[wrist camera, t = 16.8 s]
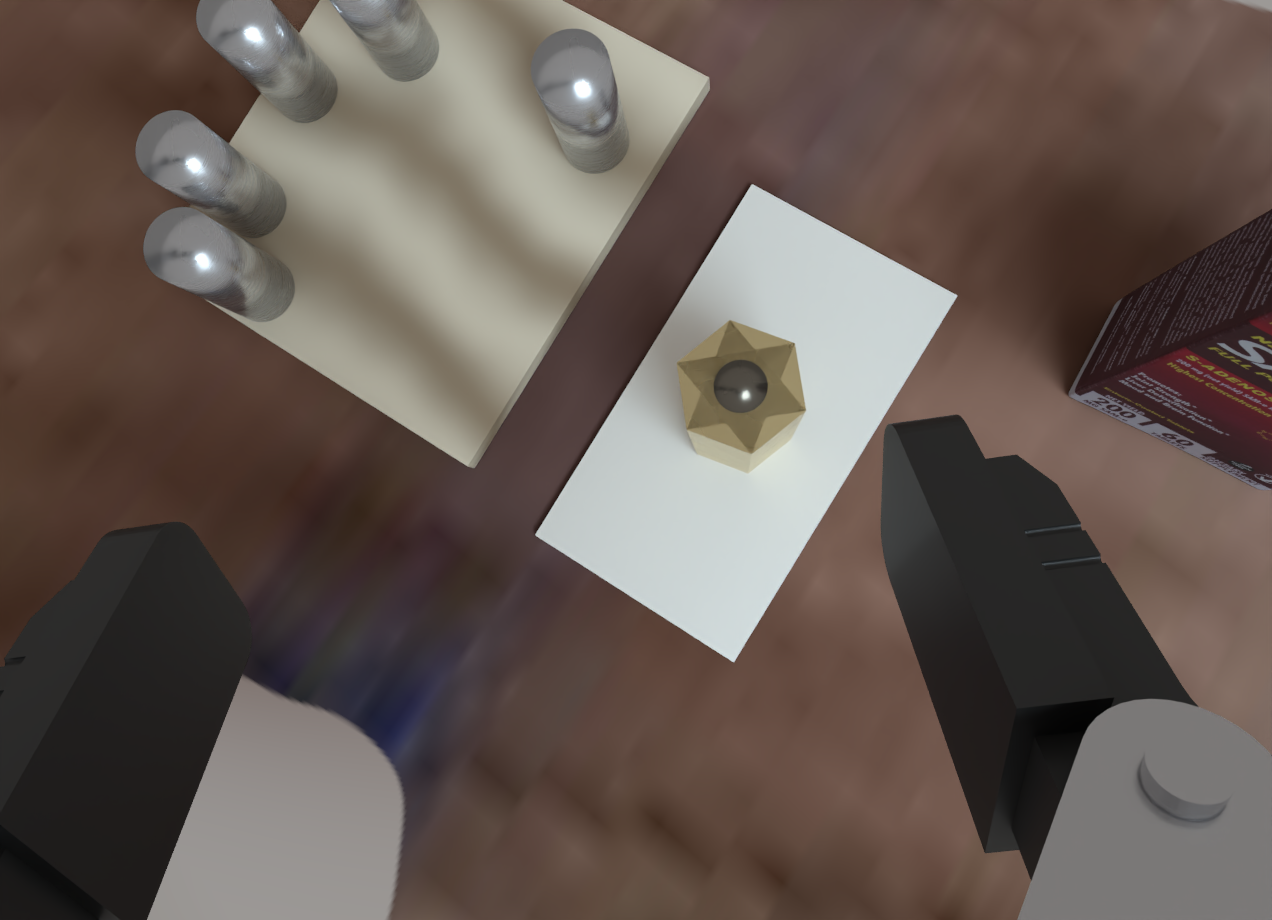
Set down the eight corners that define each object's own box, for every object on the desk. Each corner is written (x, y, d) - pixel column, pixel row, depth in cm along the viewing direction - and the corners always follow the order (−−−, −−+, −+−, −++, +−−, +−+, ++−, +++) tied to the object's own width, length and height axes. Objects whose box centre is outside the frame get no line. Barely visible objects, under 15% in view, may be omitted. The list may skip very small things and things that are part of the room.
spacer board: (474, 468, 38) (467, 466, 37) (165, 272, 41) (151, 265, 40) (709, 89, 39) (709, 77, 38) (389, -80, 41) (380, -96, 40)
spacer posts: (445, 444, 37) (391, 425, 32) (162, 265, 40) (62, 216, 34) (642, 128, 38) (625, 50, 32) (350, -31, 40) (283, -131, 34)
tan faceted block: (726, 490, 36) (724, 475, 29) (668, 418, 37) (649, 383, 29) (812, 422, 36) (833, 388, 28) (752, 350, 37) (756, 297, 29)
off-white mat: (733, 661, 36) (733, 662, 36) (537, 534, 38) (535, 535, 37) (955, 298, 37) (957, 295, 36) (751, 187, 38) (751, 184, 38)
